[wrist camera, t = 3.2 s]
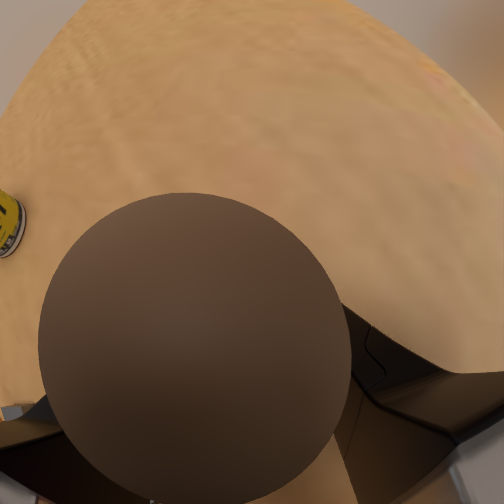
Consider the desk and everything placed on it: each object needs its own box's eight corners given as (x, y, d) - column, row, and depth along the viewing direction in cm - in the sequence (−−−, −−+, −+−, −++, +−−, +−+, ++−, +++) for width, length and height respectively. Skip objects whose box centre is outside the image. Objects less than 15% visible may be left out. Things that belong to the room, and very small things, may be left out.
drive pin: (296, 363, 15) (386, 458, 3) (216, 387, 15) (94, 510, 3) (271, 285, 16) (283, 154, 4) (192, 309, 16) (23, 249, 4)
